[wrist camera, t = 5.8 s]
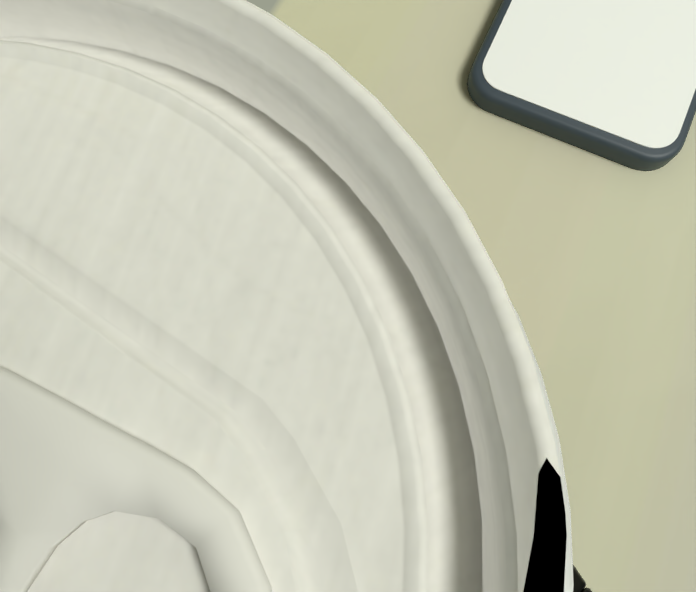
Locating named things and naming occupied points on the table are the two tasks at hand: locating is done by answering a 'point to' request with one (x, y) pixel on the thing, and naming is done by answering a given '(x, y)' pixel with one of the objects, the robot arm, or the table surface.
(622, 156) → the phone case
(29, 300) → the beer can
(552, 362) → the table surface
